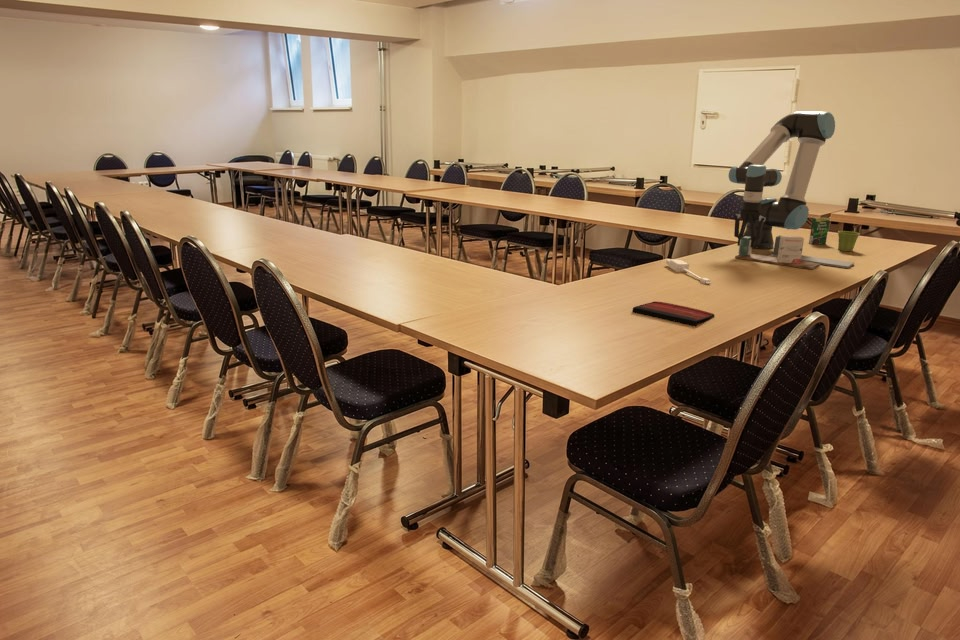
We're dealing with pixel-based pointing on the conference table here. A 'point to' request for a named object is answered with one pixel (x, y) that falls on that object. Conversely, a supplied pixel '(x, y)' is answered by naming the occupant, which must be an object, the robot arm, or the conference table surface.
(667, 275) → the conference table surface
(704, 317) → the binder
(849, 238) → the plant pot
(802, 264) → the board with upright blocks
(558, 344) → the conference table surface
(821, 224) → the coffee box
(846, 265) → the grey strip
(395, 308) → the conference table surface
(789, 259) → the ink box
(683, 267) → the charging cable
